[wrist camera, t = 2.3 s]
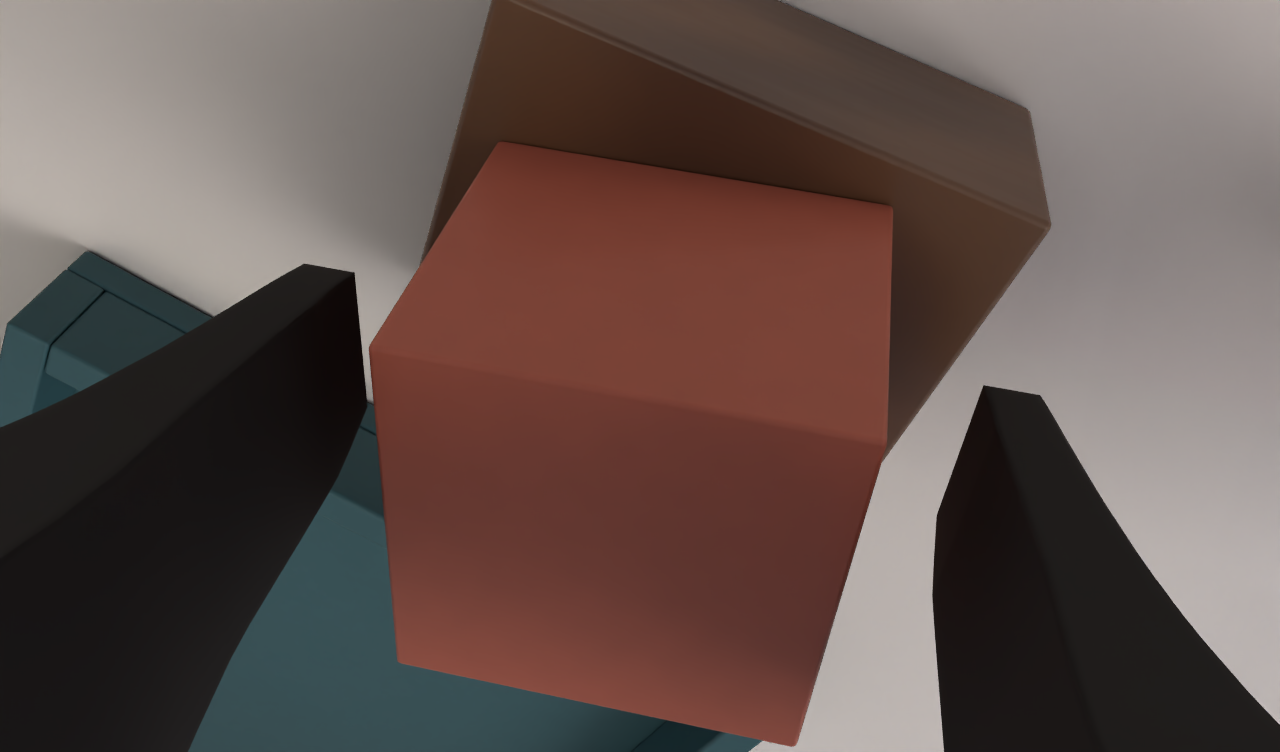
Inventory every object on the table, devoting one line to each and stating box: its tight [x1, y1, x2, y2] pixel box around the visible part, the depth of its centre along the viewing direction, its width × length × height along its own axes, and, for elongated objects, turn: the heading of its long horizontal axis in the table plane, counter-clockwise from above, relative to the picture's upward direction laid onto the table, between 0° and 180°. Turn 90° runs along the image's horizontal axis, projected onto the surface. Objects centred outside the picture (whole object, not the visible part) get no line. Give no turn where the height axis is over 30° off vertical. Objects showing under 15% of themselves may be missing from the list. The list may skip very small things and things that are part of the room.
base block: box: [419, 0, 1051, 462], centre depth 15 cm, size 6×6×3 cm
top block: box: [369, 141, 893, 747], centre depth 12 cm, size 4×4×4 cm
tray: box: [0, 251, 763, 752], centre depth 26 cm, size 14×20×2 cm
